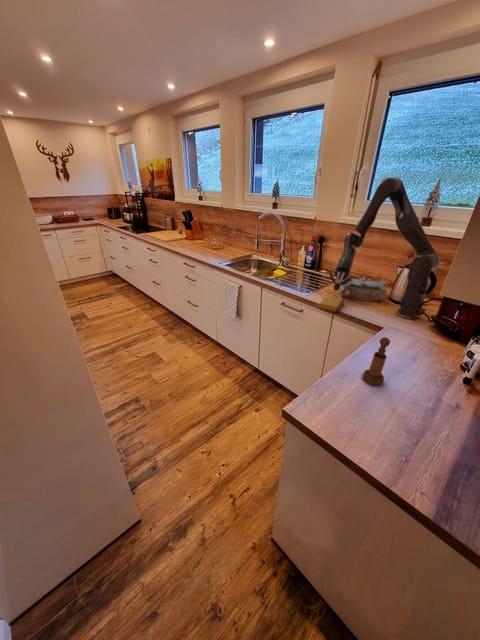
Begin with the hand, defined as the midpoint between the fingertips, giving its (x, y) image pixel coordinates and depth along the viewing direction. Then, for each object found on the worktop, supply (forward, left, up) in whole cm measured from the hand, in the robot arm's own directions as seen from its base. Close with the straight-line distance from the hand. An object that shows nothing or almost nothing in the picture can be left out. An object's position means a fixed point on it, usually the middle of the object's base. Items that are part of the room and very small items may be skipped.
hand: (335, 290), depth 150 cm
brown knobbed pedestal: (-50, +44, -8) cm, 67 cm away
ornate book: (-2, -26, -8) cm, 27 cm away
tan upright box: (+1, -2, -7) cm, 7 cm away
